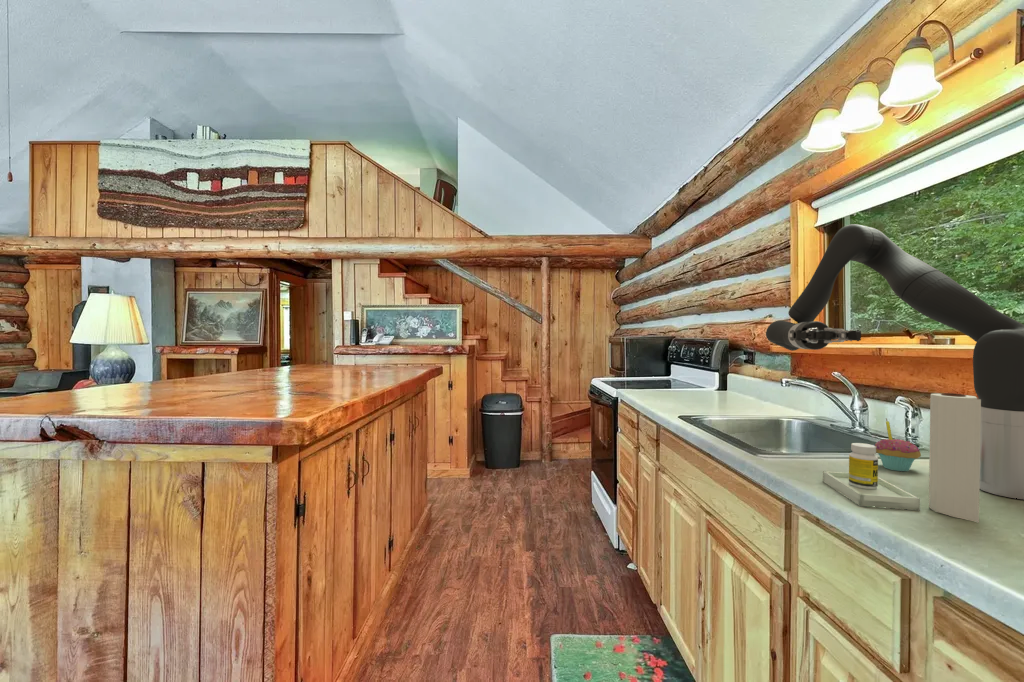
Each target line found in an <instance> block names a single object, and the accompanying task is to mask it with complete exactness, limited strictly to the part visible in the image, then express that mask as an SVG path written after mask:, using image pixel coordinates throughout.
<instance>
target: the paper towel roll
mask: <svg viewBox="0 0 1024 682" xmlns="http://www.w3.org/2000/svg"><path fill="white" fill-rule="evenodd" d="M929 398H930V403H929V405H930V408H929V411H930V413H929V414H930V415H929V459H928V460H929V466H928V467H929V470H928V471H929V472H928V477H929V479H928V507H929V509H931V510H932V511H933V512H936V513H939V514H942V515H946V516H950V517H952V518H956V519H957V518H958V519H963V520H967V521H972V522H975V523H977V524H978V523H980V489H979V484H980V423H981V400H980V399H979V398H978V396H975V395H967V394H961V393H953V392H952V393H951V392H947V393H946V392H945V393H944V392H943V393H938V392H937V393H930V397H929Z"/></svg>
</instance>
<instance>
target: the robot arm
mask: <svg viewBox="0 0 1024 682" xmlns="http://www.w3.org/2000/svg"><path fill="white" fill-rule="evenodd" d="M850 261H853V262H857V263H860V264H863V265H865V266H867V267H868V268H870V269H872V270H874V271H875V272H876V273H878V274H879V275H880V276H882V277H883V278H884V279H885V281H887V283H888V286H889V287H890V288H891V290H892V291H893V292H894V294H895V295H896V296H897V297H898V298H899V299H900V300H902V301H903V302H904V303H905V304H907V305H908V306H909V307H910V308H912V309H913V310H914V311H917V312H918V313H920V314H921V315H923V316H924V317H927V318H929V319H930V320H933V321H936V322H938V323H940V324H943V326H944V325H945V326H947V327H949V328H951V329H954V330H957V331H959V332H960V333H962V334H964V335H966V336H968V337H969V338H970V339H972V340H973V341H975V345H974V348H973V353H972V372H973V373H972V374H973V389H974V391H975V394H976V395H977V396H976V397H977V399H980V400H981V423H980V484H979V490H981V491H984V492H986V493H990V494H993V495H996V496H1001V497H1005V498H1006V497H1007V498H1009V499H1010V498H1012V499H1016V498H1017V499H1018V500H1024V324H1023V323H1021V322H1019V321H1017V320H1015V319H1014V318H1012V317H1010V316H1008V315H1006V314H1004V313H1002V312H1001V311H999V310H997V309H996V308H995V307H993V306H991V305H990V304H988V303H987V302H986V301H984V300H983V299H981V298H980V297H979V296H978V295H976V294H974V293H973V292H971V291H970V290H969V289H967V288H966V287H964V286H963V285H961V284H960V283H959V282H957V281H956V280H954V279H952V278H951V277H950V276H948V275H946V274H945V273H944V272H942V271H940V270H939V269H937V268H935V267H933V266H931V265H930V264H928V263H926V262H925V261H924V260H921V259H919V258H917V257H915V256H913V255H911V254H910V253H907V252H906V251H905V250H904V249H902V248H901V247H900V246H899V245H898V244H896V243H895V242H894V241H892V239H890V238H889V237H888V236H887V235H886V234H885V233H883V232H882V231H881V230H879V229H876V228H875V227H871V226H866V225H861V224H855V223H853V224H847V225H845V226H843V227H841V228H839V229H838V230H837V232H836V233H835V235H834V236H833V237H832V239H831V241H830V242H829V244H828V246H827V248H826V250H825V252H824V254H823V256H822V258H821V260H820V262H819V264H818V265H817V267H816V269H815V271H814V272H813V275H812V276H811V279H810V280H809V282H808V283H807V285H806V286H805V288H804V290H803V291H802V292H801V294H800V295H799V296H798V297H797V299H796V300H795V302H794V303H793V304H792V306H791V307H790V308H789V309H788V316H789V317H790V318H791V319H792V320H793V321H794V322H795V323H793V322H789V321H786V320H782V319H781V320H776V321H773V322H772V323H770V324H769V325H768V326H767V328H766V330H765V336H766V339H767V340H768V342H770V343H772V344H774V345H776V346H779V347H781V348H784V349H785V350H788V351H792V352H793V351H798V350H799V349H802V350H811V351H812V350H813V351H815V350H816V351H819V350H821V349H824V348H825V347H827V346H828V345H829V344H832V343H844V342H848V341H849V342H853V341H856V342H860V341H862V330H859V329H857V330H853V329H849V330H848V329H844V328H832V327H829V326H828V324H826V323H824V322H822V321H817V320H816V319H817V317H818V316H819V315H820V314H821V312H822V310H824V308H825V307H826V306H827V304H828V302H829V300H830V298H831V296H832V292H833V289H834V285H835V282H836V279H837V277H838V275H840V272H841V271H842V269H844V267H846V266H847V264H848V263H849V262H850ZM815 320H816V321H815Z"/></svg>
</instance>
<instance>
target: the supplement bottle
mask: <svg viewBox="0 0 1024 682" xmlns="http://www.w3.org/2000/svg"><path fill="white" fill-rule="evenodd" d="M850 445H851V446H850V450H851V451H852V452H850V453H848V473H849V484H850V485H852V486H854V487H858V488H863V489H877V487H878V477H879V458H878V456H877V455H875V454H877V452H876V446H874V445H875V444H869V443H862V442H852V443H851V444H850Z"/></svg>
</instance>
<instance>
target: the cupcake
mask: <svg viewBox="0 0 1024 682" xmlns="http://www.w3.org/2000/svg"><path fill="white" fill-rule="evenodd" d="M885 420H886V421H885V425H886V431H887V436H888V438H884V439H881V440H878V441H876V442H875V443H874V444H873V445H874V446H876V454H878V456H879V457H880V461H881V463H882V466H883V468H885V469H887V470H891V471H896V472H909V471H910V469H911V467H912V465H913V463H914V461H915V460H916V459H919V458H921V456H922V455H921V451H920V450H921V449H919V447H918V446H917V445H916V444H914V443H912V442H910V441H909V440H904V439H899V438H893V436H892V435H893V434H892V430H891V425H890V424H891V423H890V421H888V418H887V417H886V418H885Z"/></svg>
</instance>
